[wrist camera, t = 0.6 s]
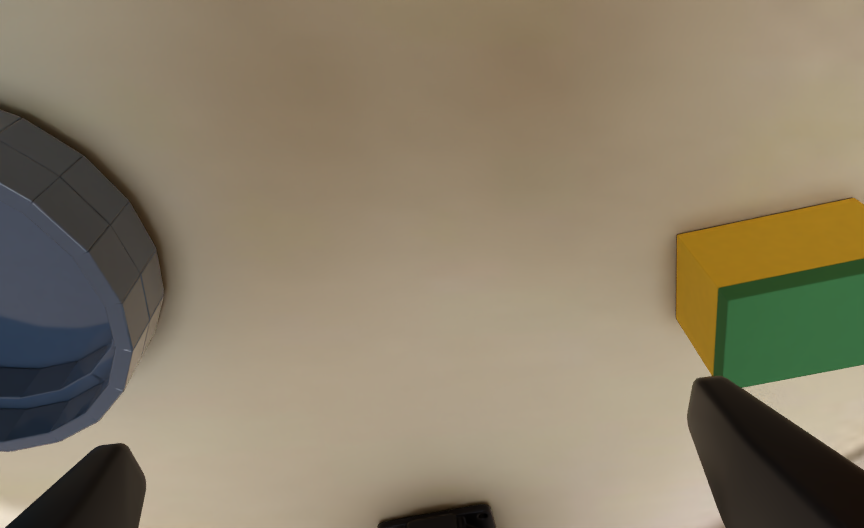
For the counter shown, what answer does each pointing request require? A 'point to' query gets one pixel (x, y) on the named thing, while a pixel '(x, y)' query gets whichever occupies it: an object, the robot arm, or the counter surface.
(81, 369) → the bowl
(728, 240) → the sponge
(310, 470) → the counter surface
